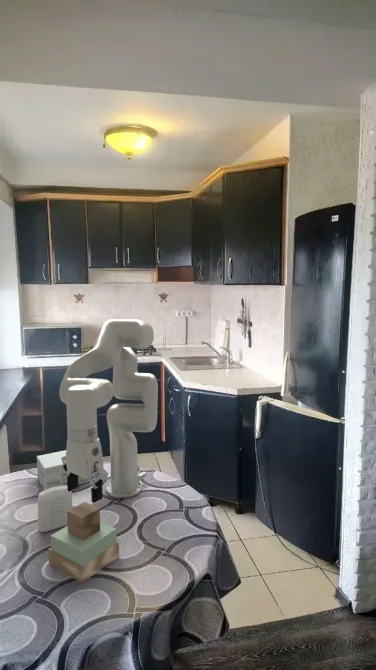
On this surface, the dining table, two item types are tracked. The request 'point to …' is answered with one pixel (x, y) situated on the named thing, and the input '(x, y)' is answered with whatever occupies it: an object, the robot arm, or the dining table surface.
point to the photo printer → (53, 508)
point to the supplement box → (53, 470)
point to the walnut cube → (83, 520)
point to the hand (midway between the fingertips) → (84, 494)
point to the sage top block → (83, 544)
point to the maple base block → (87, 570)
